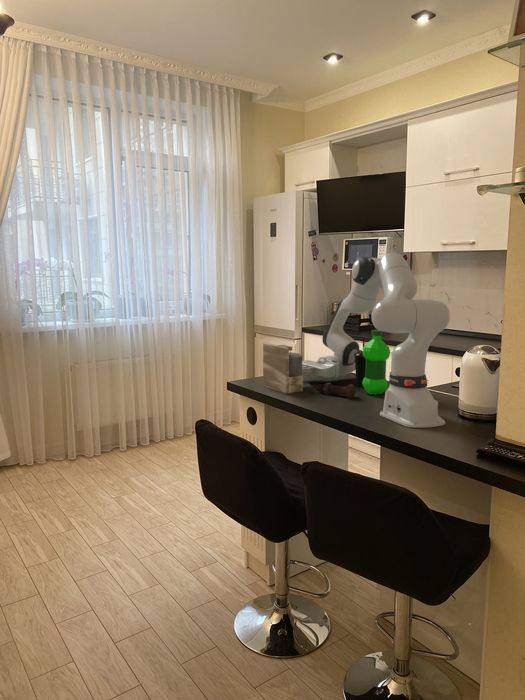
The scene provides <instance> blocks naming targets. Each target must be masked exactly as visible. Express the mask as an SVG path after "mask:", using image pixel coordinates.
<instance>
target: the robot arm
mask: <svg viewBox="0 0 525 700" xmlns="http://www.w3.org/2000/svg"><path fill="white" fill-rule="evenodd" d="M351 279H352V280H353V283H352V285H351V289H350V292H349V293H348V295H347V296H344V297H343V298H342V299H341V300H340V302H339V304H338V307H337V308H336V309H335V311H334V314H333V316H332V319H331V320H330V322H329V324H328V326H327V328H326V329H325V330H324V332H323V334H322V343H323V345H324V346H325V347H327V348H328V349H329V350H331V351H332V352H333V355H328V356H320V357H319V358H317V361H315V360H314V361H313V360H311V359H310V360H309V359H307V360H306V359H305V360H302V374H306V373H307V374H311V375H314V376H317V377H321V378H334V379H336V378H339V377H340V376H343V375H347V374H351V373H353V372H356V370H355V356H354V353H357V352H359V351H360V344H359V343H358V341H356V340H355V339H353V337H351V336H350V335H348V334H347V333H346V332H345V330H344V325H345V323H346V321H347V319H348V318H349V315H350V314H357V315H359V314H360V315H361V314H366V313H369V312H370V311H372V312H371V315H370V316H371V323H372V324H373V326H374V328H375V330H378V331H383V332H384V333H387V334H388V333H390V334H408V337H407V338H406V339H405V341H403V342H401V343H400V344H398V345H396V346H395V347H394V348H393V350H392V352H391V362H390V363H391V366H390V367H391V368H390V372H389V376H388V384H389V385H388V387H387V389H386V390H385V391H384V393H385V394H384V400H383V401H384V402H383V410H381V411H379V416H381V417H383V418H385V419H388V420H390V421H392V422H395V423H397V424H399V425H402V426H404V427H405V428H414V429H415V428H419V429H421V428H435V427H440V426H445V425H446V421H445V420H444V419H443V418H442V417H441V416H440V415H439V409H438V407H439V401H438V400H437V399H436V400H435V399H434V397H433V395H432V393H431V392H430V390H429V388H428V381H429V380H428V379H427V374H426V363H427V362H426V361H427V355H428V351H429V347H430V345H431V344H432V342H433V340H434V339H435V337H437V335H438V334H440V333H441V332H442V331H443V330H445V329H446V328H447V327H448V324H449V322H450V319H451V313H450V309H449V308H448V306H447V304H446V303H445V302H443V301H439V300H433V299H414V298H415V296H416V295H417V293H418V285H417V282H416V280H415V277H414V274H413V272H412V270H411V267H410V265H409V263H408V262H407V261H406V259H405V258H404V257H403V255H401V254H400V253H398V252H388V253H386V254H385V255H383V256H382V257H380V258H379V257H369V256H361V257H358V258H357V259H355V260H354V262H353V264H352V268H351ZM380 289H382V290H383V293H384V297H383V299H382V300H380V301H379V302H377V300H378V296H379V294H380V291H381V290H380Z"/></svg>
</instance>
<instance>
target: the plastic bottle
mask: <svg viewBox="0 0 525 700" xmlns="http://www.w3.org/2000/svg"><path fill="white" fill-rule="evenodd" d="M383 334H384V333H383V331H378V330H377V329H372V330H371V336H372V339H370V340H369V341H367V343H366V344H365V346H364V347H363V346H362V351H363V356H364V357H365V358H366V368H365V378H364V379H363V387H364V388H363V389H364V390H365V391H366V392H367V394H368V393H369V394H368V395H371V394H375V395H374V396H377V395H376V394H380V395H382V394H383V393H385V392H386V390H387V389H388V388H389V382H388V380H387V378H386V376H387V375H386V374H387V360H388V359H389V358H390V355H391V349H390V346H388V344H386V343H385V342H384V341H383V340H382V336H383Z"/></svg>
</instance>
